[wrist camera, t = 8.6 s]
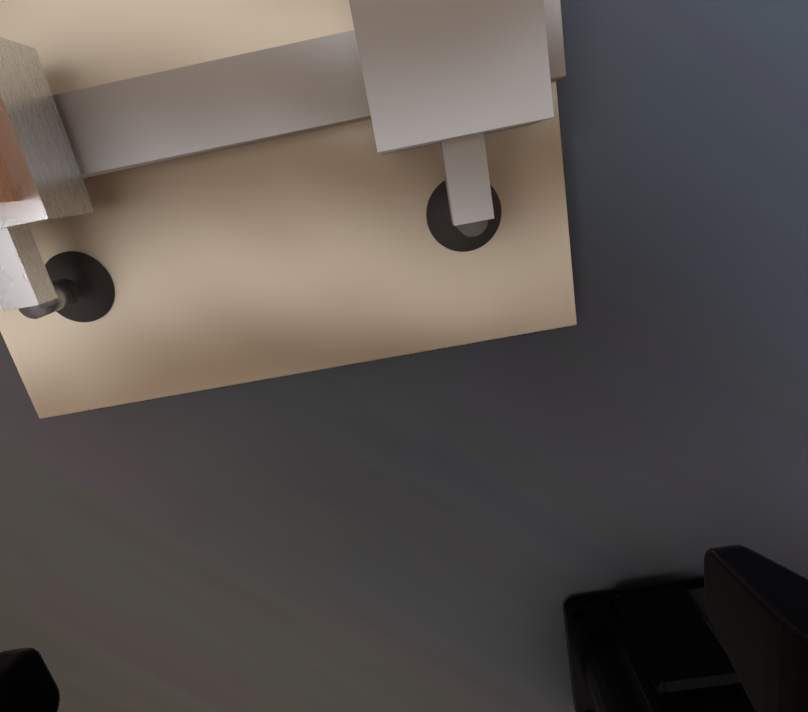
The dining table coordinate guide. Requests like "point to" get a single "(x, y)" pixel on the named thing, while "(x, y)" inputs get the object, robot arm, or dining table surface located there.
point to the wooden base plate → (292, 188)
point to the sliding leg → (33, 183)
